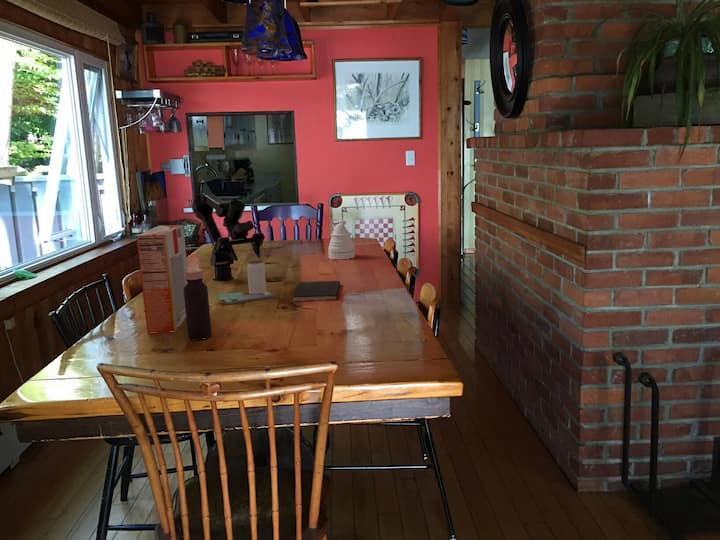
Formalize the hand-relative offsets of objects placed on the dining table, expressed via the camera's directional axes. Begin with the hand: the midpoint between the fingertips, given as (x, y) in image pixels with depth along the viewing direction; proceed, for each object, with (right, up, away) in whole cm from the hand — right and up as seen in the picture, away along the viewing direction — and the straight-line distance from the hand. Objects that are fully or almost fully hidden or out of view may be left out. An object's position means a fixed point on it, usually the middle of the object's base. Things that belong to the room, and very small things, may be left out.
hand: (248, 258), depth 231 cm
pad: (-5, -14, -7) cm, 17 cm away
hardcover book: (+27, -14, -5) cm, 31 cm away
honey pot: (+34, +2, +63) cm, 72 cm away
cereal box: (-18, -21, -37) cm, 46 cm away
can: (+4, -13, -2) cm, 14 cm away
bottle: (-4, -24, -54) cm, 59 cm away
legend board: (+3, -15, -11) cm, 19 cm away
